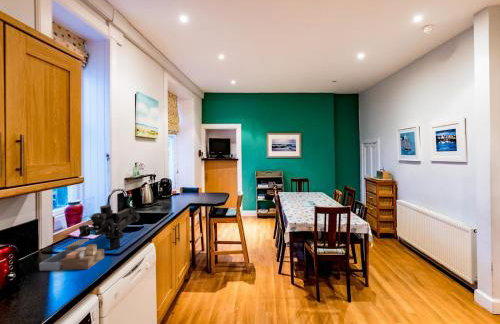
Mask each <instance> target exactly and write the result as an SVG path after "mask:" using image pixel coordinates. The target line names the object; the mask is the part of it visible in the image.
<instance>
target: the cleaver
mask: <svg viewBox="0 0 500 324" xmlns="http://www.w3.org/2000/svg"><path fill="white" fill-rule="evenodd" d="M80 239H81V240H80ZM80 239H77V240H78V241H77V240H75V241H76V242H75V241H73V242H74V243H73V242H71V243H72V244H71V243H69V244H70V245H69V244H68V246H67V245H66V246H67V247H65V246H64V247H65V248H67V249H64V250H63V251H75V250H76V249H78V248H80V246H81V247H82V245H84V244H86V243H87V242H88V241H90V240H89V239H90V238H80ZM85 242H86V243H85Z"/></svg>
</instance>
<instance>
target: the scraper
mask: <svg viewBox="0 0 500 324" xmlns="http://www.w3.org/2000/svg"><path fill="white" fill-rule="evenodd" d="M85 247H86V249H85V250H84V251H82V252H80V253H79V259H81V258H83V257H84V256H86V255H95V254H96V253H97V249H98V246H97V243H91V244H88V245H86V246H85Z"/></svg>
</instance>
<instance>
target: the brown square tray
mask: <svg viewBox="0 0 500 324" xmlns="http://www.w3.org/2000/svg"><path fill="white" fill-rule="evenodd" d="M103 259H105V249H104V248H97V253H96V254H95V255H86V256H84V257H83V258H81V259H79V256H78V257H77V258H75V259H67V257H66V258H64V259H63V260H61V263H62V269H61V270H89V269H91V267H93V266H94V265H96V264H97V263H99V262H100V261H101V260H103Z"/></svg>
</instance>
